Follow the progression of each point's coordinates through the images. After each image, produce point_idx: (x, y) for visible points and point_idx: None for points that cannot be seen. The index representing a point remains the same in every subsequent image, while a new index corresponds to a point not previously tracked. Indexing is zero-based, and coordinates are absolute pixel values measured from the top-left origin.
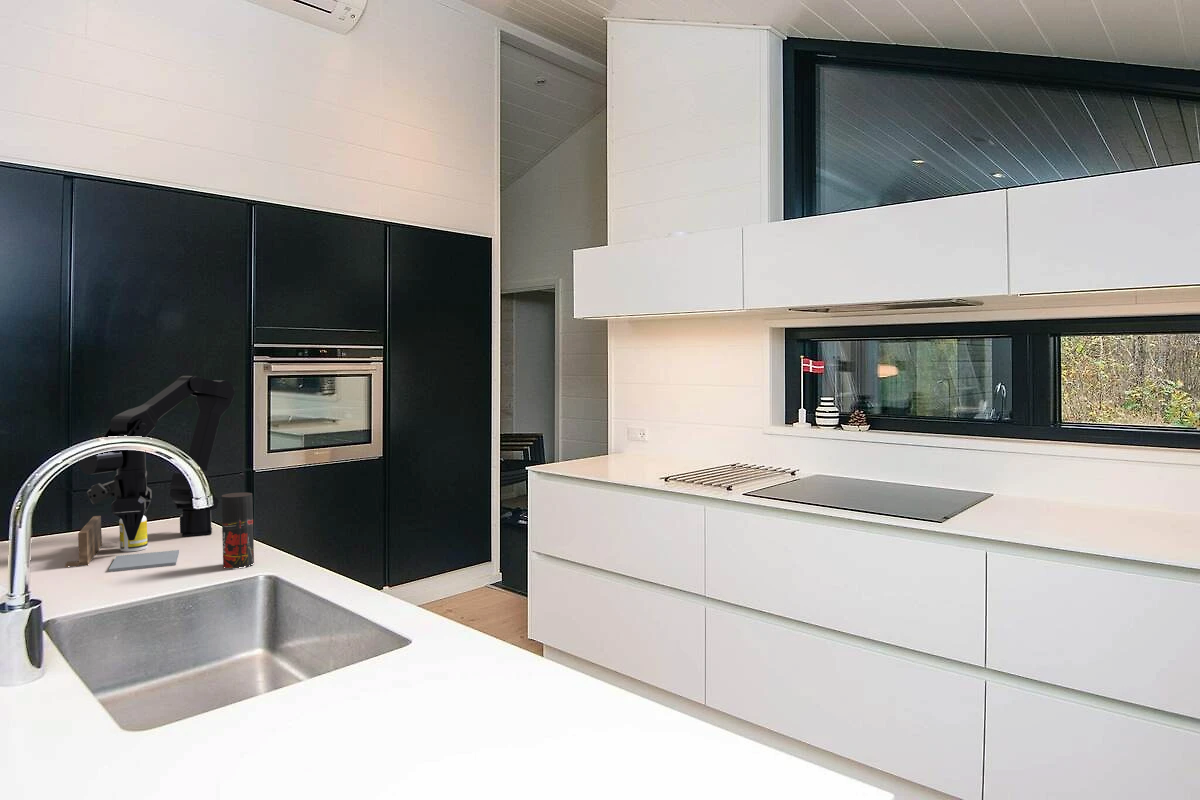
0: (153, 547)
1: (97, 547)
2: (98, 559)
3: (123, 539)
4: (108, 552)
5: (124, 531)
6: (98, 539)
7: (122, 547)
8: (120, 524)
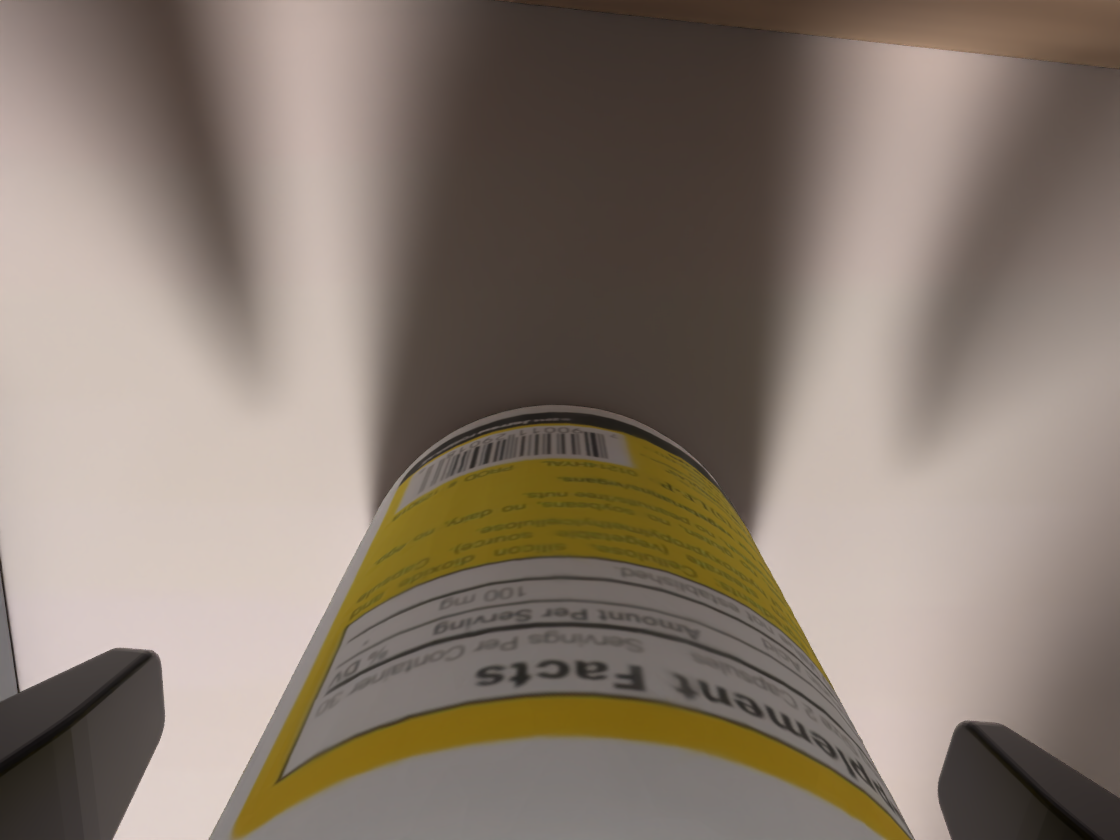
0: None
1: (777, 14)
2: (16, 70)
3: (376, 546)
4: (546, 220)
5: (304, 683)
6: (1023, 4)
7: (433, 456)
8: (361, 745)
